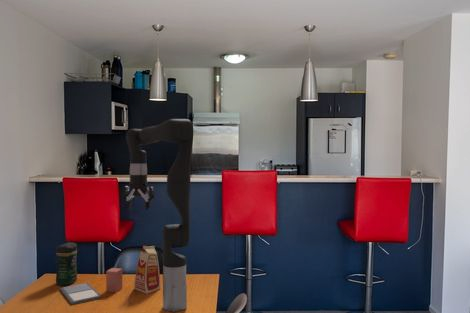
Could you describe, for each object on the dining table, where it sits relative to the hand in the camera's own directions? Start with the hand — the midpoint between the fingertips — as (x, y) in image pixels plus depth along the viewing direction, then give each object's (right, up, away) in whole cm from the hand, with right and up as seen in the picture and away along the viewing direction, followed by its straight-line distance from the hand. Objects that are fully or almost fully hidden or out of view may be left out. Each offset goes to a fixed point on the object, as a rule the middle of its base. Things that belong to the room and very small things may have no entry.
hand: (138, 209), depth 180 cm
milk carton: (+4, -36, +2) cm, 37 cm away
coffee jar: (-36, -36, +9) cm, 52 cm away
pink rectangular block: (-11, -36, 0) cm, 38 cm away
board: (-24, -36, -5) cm, 44 cm away
